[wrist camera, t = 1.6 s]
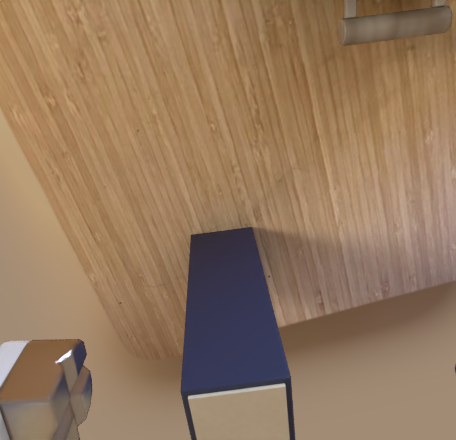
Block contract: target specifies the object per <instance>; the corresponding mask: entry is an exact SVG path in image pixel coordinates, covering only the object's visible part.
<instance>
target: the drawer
mask: <svg viewBox="0 0 456 440" xmlns="http://www.w3.org/2000/svg"><path fill="white" fill-rule="evenodd" d="M446 1H447V0H431V7H432V8H424V9H416V10H409V11H401V12H393V13H385V14H378V15H370V16H362V17H356V16H357V0H343V19H341V20H340V22H339V25H338V41H339V44H340V45H341V46H348V45H355V44H363V43H371V42H379V41H386V40H394V39H402V38H410V37H417V36H425V35H433V34H440V33H445V32H447V31H448V30H449V28H450V26H451V23H452V10H451V8H450V7H449V6H445V5H446Z"/></svg>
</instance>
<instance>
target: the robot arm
mask: <svg viewBox="0 0 456 440" xmlns="http://www.w3.org/2000/svg"><path fill="white" fill-rule="evenodd" d="M86 355H87V354H86V349H85V345H84V342H83V341H82V340H80V339H68V340H32V341H6V342H5V343H3V344H1V345H0V440H80V438H79V433H78V428H77V427H78V426H79V425H80V424H81V423H82V422H83V421H85V420H86V418H87V414H88V411H89V408H90V404H91V395H92V379H91V374H90V371H89V370H88V369H87V368H86V367H85V366H83V363H84V360H85V358H86ZM455 372H456V366H455Z"/></svg>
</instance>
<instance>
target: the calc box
mask: <svg viewBox="0 0 456 440" xmlns="http://www.w3.org/2000/svg"><path fill="white" fill-rule="evenodd" d="M181 395H182V399H183V404H184V408H185V413H186V417H187V422H188V426H189V430H190V435H191V439H192V440H295V430H294V416H293V401H292V387H291V376H290V372H289V369H288V365H287V361H286V357H285V353H284V349H283V345H282V341H281V337H280V333H279V330H278V326H277V322H276V318H275V314H274V310H273V306H272V302H271V299H270V295H269V291H268V287H267V283H266V279H265V275H264V272H263V268H262V264H261V260H260V256H259V252H258V248H257V244H256V241H255V237H254V233H253V229H252V227H249V228H242V229H234V230H226V231H219V232H211V233H203V234H196V235H191V244H190V259H189V274H188V289H187V304H186V319H185V334H184V349H183V364H182V379H181Z"/></svg>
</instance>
